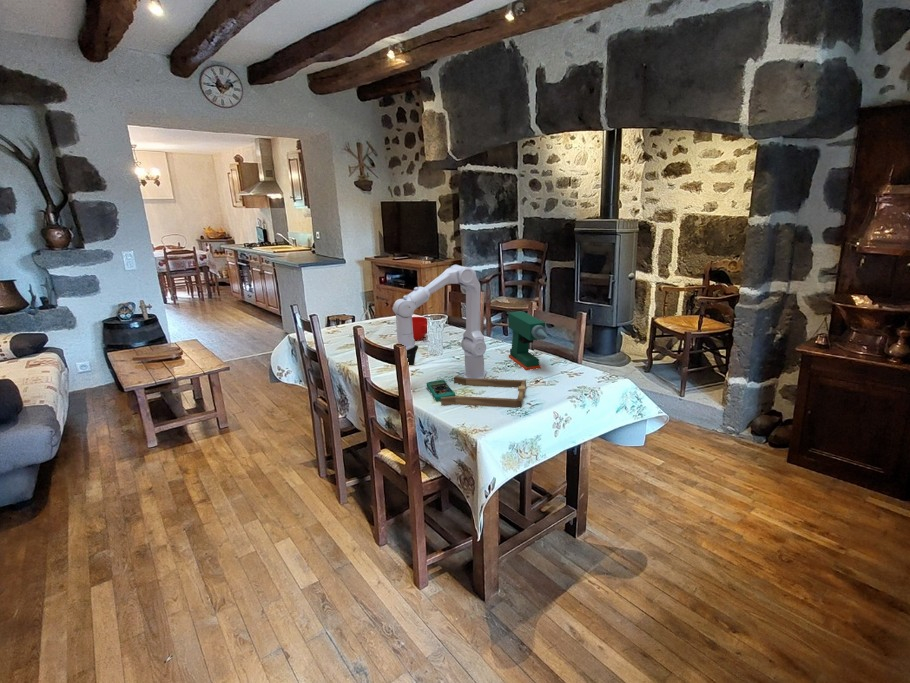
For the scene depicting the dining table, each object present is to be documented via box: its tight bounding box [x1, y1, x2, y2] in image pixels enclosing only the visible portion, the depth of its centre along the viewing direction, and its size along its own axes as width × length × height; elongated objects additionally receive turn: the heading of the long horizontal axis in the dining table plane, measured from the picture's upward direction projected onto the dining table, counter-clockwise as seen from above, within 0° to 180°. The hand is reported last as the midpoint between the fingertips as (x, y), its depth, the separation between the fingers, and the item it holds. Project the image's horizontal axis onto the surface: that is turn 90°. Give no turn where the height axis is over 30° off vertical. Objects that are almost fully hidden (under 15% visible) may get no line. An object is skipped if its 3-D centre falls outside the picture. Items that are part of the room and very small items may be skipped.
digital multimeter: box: [426, 379, 457, 402], centre depth 179 cm, size 7×15×3 cm, turn 17°
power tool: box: [507, 310, 550, 371], centre depth 198 cm, size 32×7×20 cm, turn 16°
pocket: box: [440, 375, 527, 409], centre depth 175 cm, size 22×28×3 cm
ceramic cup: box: [412, 316, 428, 341], centre depth 246 cm, size 13×17×10 cm
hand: (407, 368), depth 179 cm, fingers open, 7 cm apart
